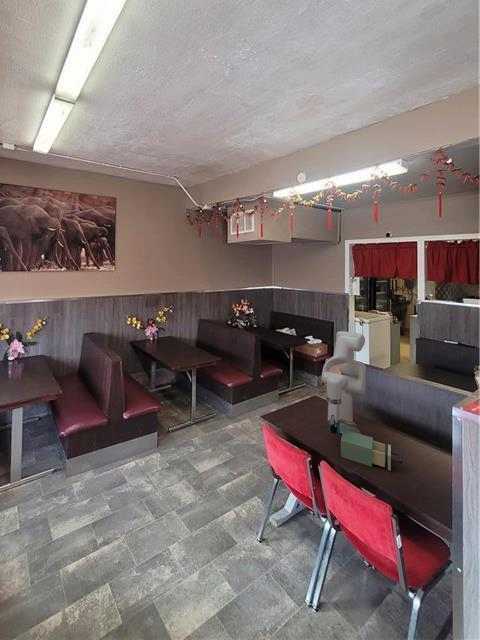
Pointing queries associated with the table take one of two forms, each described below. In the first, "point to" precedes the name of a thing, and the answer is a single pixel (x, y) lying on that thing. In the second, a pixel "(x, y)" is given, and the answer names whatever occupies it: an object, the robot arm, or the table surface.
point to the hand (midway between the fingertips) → (334, 430)
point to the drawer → (383, 455)
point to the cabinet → (357, 447)
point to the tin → (349, 427)
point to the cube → (336, 426)
